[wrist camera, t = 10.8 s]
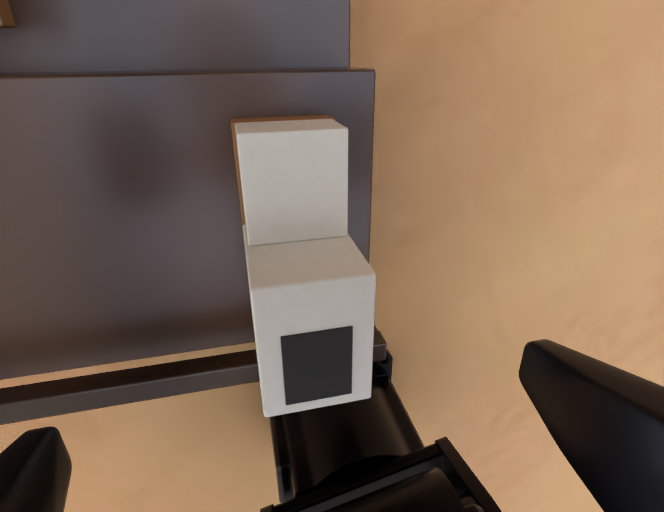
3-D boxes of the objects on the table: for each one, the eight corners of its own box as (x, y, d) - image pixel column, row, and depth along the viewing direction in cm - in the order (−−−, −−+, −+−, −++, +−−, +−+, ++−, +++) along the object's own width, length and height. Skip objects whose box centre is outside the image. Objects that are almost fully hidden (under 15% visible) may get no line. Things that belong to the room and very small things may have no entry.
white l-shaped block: (331, 304, 16) (372, 400, 12) (252, 315, 15) (264, 420, 11) (328, 114, 13) (383, 145, 8) (230, 118, 12) (233, 154, 8)
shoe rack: (342, -292, 12) (444, -589, 6) (341, 276, 20) (386, 360, 15) (-320, -399, 9) (-1198, -1131, 3) (-3, 319, 17) (-109, 444, 12)
